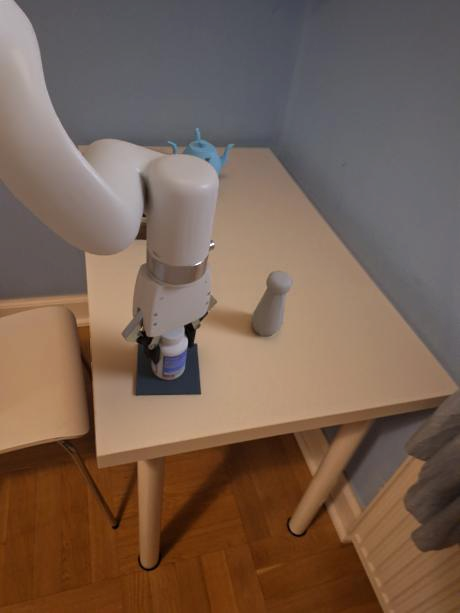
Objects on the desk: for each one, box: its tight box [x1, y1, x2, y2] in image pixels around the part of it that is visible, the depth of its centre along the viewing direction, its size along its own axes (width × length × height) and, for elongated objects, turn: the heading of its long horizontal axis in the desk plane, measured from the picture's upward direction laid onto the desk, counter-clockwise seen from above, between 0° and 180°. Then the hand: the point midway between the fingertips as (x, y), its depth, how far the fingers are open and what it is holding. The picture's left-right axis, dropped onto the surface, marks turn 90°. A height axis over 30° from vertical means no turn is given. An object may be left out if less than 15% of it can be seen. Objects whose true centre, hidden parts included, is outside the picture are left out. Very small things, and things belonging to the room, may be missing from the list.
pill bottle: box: [152, 326, 188, 380], centre depth 63 cm, size 5×5×10 cm
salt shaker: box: [251, 270, 294, 337], centre depth 71 cm, size 6×6×13 cm
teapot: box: [166, 127, 236, 176], centre depth 108 cm, size 13×13×10 cm
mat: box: [135, 342, 202, 397], centre depth 66 cm, size 10×10×1 cm
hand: (169, 348), depth 63 cm, fingers closed on pill bottle, 5 cm apart
